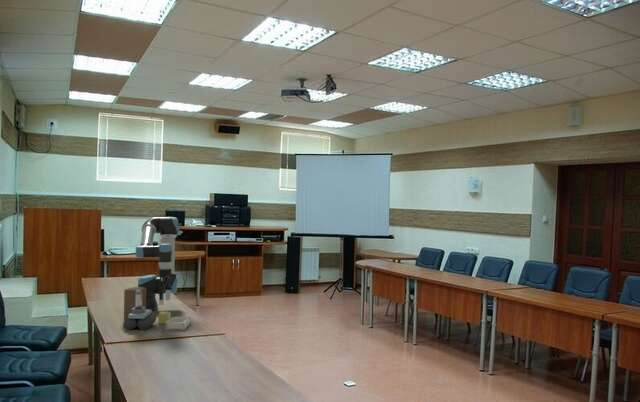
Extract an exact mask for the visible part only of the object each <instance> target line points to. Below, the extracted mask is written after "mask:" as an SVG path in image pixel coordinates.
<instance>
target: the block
mask: <svg viewBox="0 0 640 402" xmlns="http://www.w3.org/2000/svg"><path fill="white" fill-rule="evenodd" d="M136 290H142V307H145V309H146V288H143V287H138V286H132V287H129V288H126V289H124V291H123V295H124V297H123V298H124V299H123V322H124V321H125V320H126V319H127V318H128V315H129V314H131V313H132V308H134V307H135V304H136Z"/></svg>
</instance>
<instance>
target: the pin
mask: <svg viewBox="0 0 640 402" xmlns="http://www.w3.org/2000/svg"><path fill="white" fill-rule="evenodd" d="M135 309H142V290H136V304H135Z"/></svg>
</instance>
